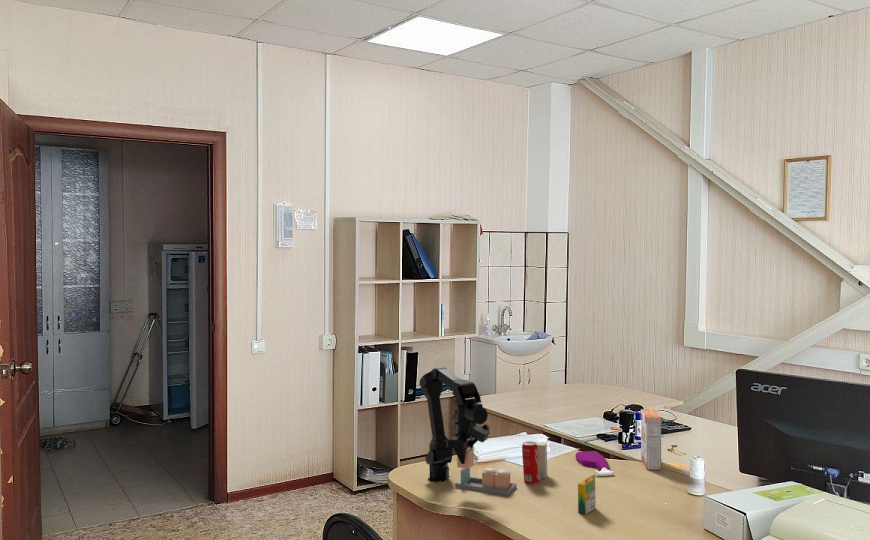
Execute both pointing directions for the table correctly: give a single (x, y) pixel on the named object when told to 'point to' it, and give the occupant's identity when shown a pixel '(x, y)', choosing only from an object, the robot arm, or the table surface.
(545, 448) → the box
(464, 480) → the pusher plate
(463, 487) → the tray
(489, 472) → the middle jar
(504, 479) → the front jar
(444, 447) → the robot arm
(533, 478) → the beverage can
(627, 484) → the table surface
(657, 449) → the cracker box
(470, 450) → the loose jar
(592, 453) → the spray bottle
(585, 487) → the crayon box
